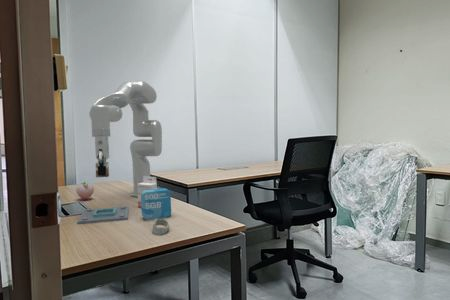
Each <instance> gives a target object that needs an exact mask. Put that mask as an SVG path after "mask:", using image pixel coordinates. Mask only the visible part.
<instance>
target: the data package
mask: <svg viewBox="0 0 450 300" xmlns="http://www.w3.org/2000/svg"><path fill="white" fill-rule="evenodd" d="M140 208H141V209H140V210H141V217H142V218H143V219H144V220H146V221H148V220H155V219H156V218H157V219H163V218H164V219H165V218H170V217H171V214H172V199H171V191H170V190H169V189H168V188H165V187H164V188H159V189H153V190H144V191H142V192H141V207H140Z"/></svg>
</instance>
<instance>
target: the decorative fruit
mask: <svg viewBox="0 0 450 300" xmlns="http://www.w3.org/2000/svg"><path fill="white" fill-rule="evenodd" d="M94 190H95V189H94V186H93V185H92V184H91V183H86V181H84V182H82V183H80V184H79V185H78V186H77V187H76V190H75V191H76V194H77V195H78V197H79V198H81V199H82V200H88V199H90V198H91V197H92V195H93V194H94Z"/></svg>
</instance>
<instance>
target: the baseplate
mask: <svg viewBox="0 0 450 300" xmlns="http://www.w3.org/2000/svg"><path fill="white" fill-rule="evenodd" d="M82 211H83V212H82V213H81V215H80V216H79V218H78V220H77V223H76V224H77V225H83V224H92V223H104V222H116V221H117V222H119V221H127V220H129V211H130V206H129V205H128V206H126V205H121V206H119V207H107V208H105V207H104V208H103V207H102V208H86V209H84V210H82Z"/></svg>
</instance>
